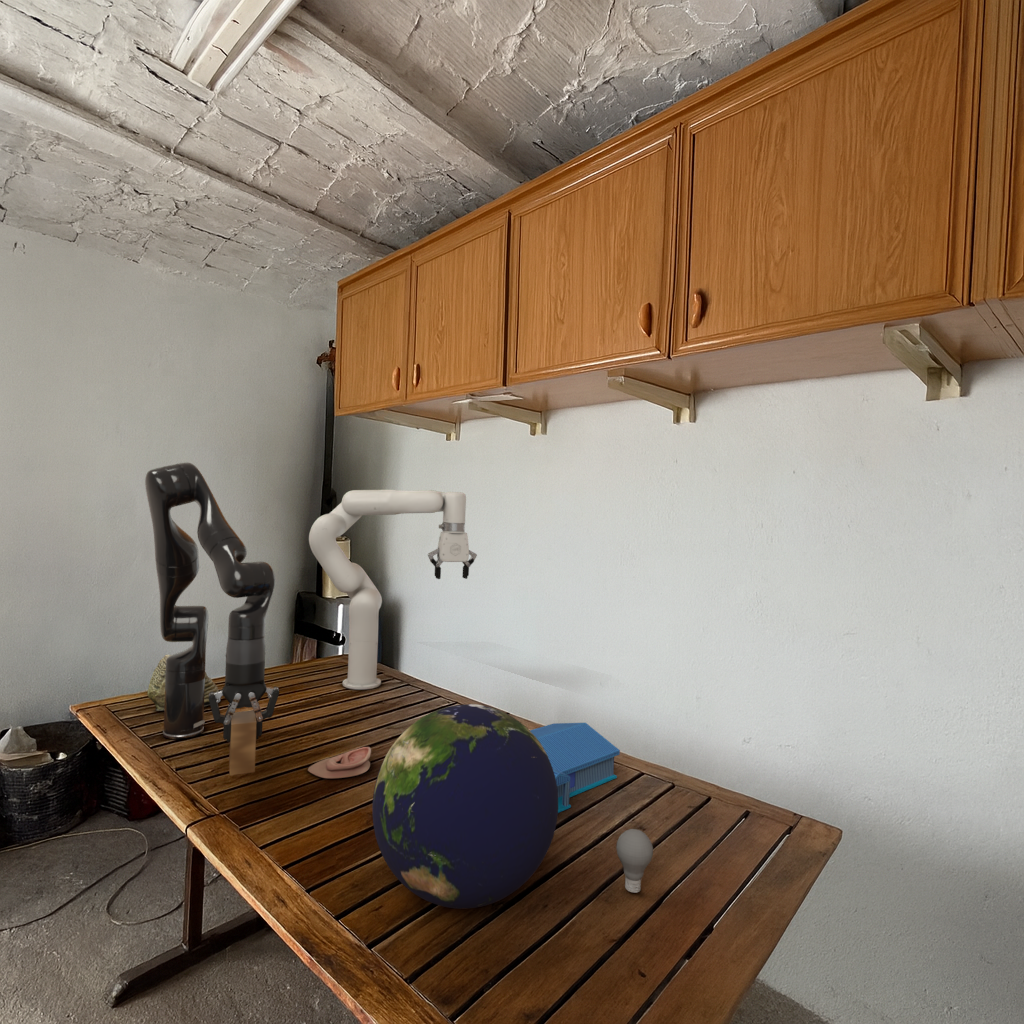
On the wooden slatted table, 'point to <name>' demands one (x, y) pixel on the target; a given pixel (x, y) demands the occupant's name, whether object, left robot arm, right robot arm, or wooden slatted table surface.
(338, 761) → the anatomical model
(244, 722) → the brick
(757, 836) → the wooden slatted table surface
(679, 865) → the wooden slatted table surface
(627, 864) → the light bulb
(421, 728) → the globe
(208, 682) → the fossil
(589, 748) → the model building
